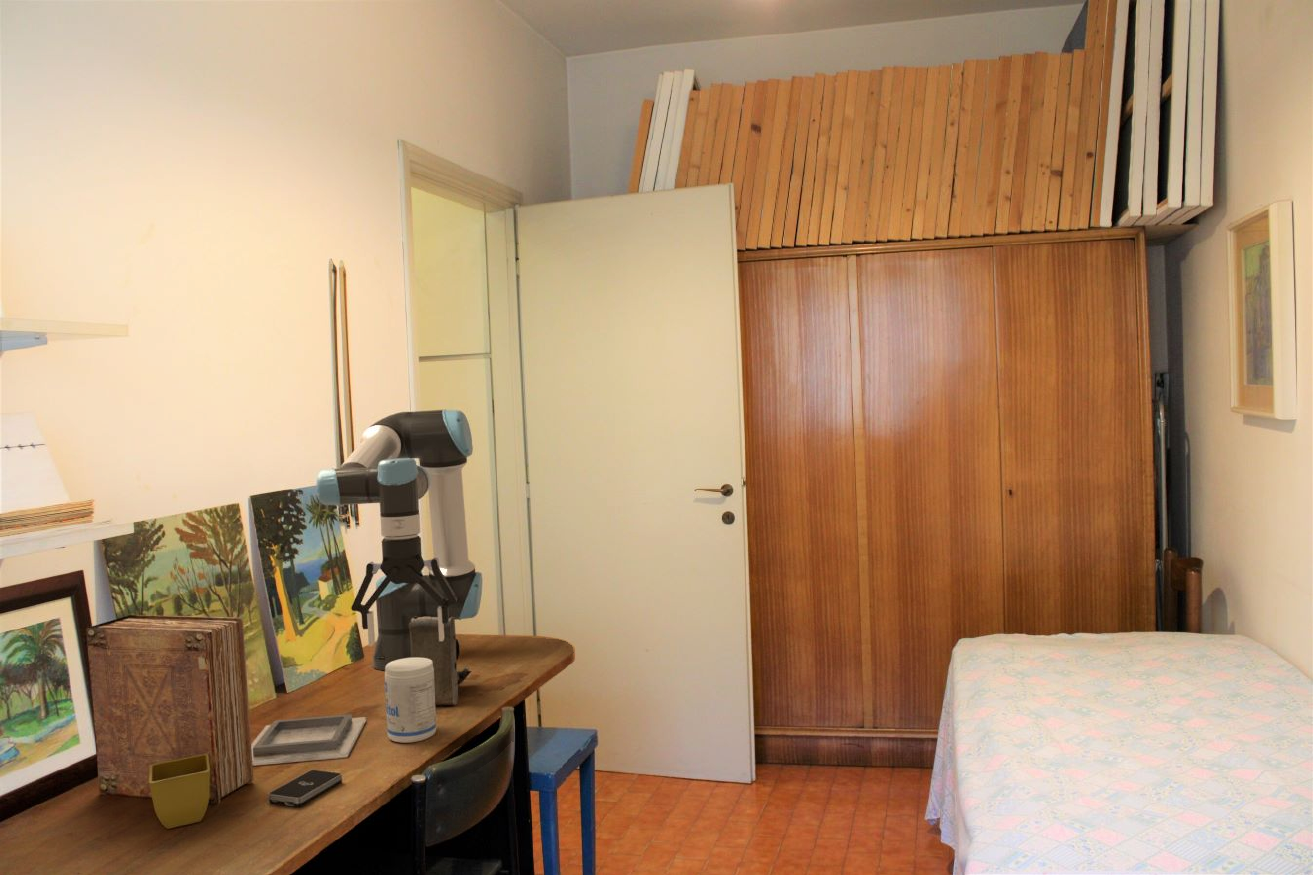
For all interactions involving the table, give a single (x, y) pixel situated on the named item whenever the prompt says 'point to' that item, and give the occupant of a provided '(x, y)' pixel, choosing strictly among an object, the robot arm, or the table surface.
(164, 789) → the flower pot
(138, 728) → the book
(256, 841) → the table surface
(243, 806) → the table surface
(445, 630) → the vintage camera
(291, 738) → the mounting plate
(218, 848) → the table surface
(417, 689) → the supplement tub
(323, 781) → the external hard drive
